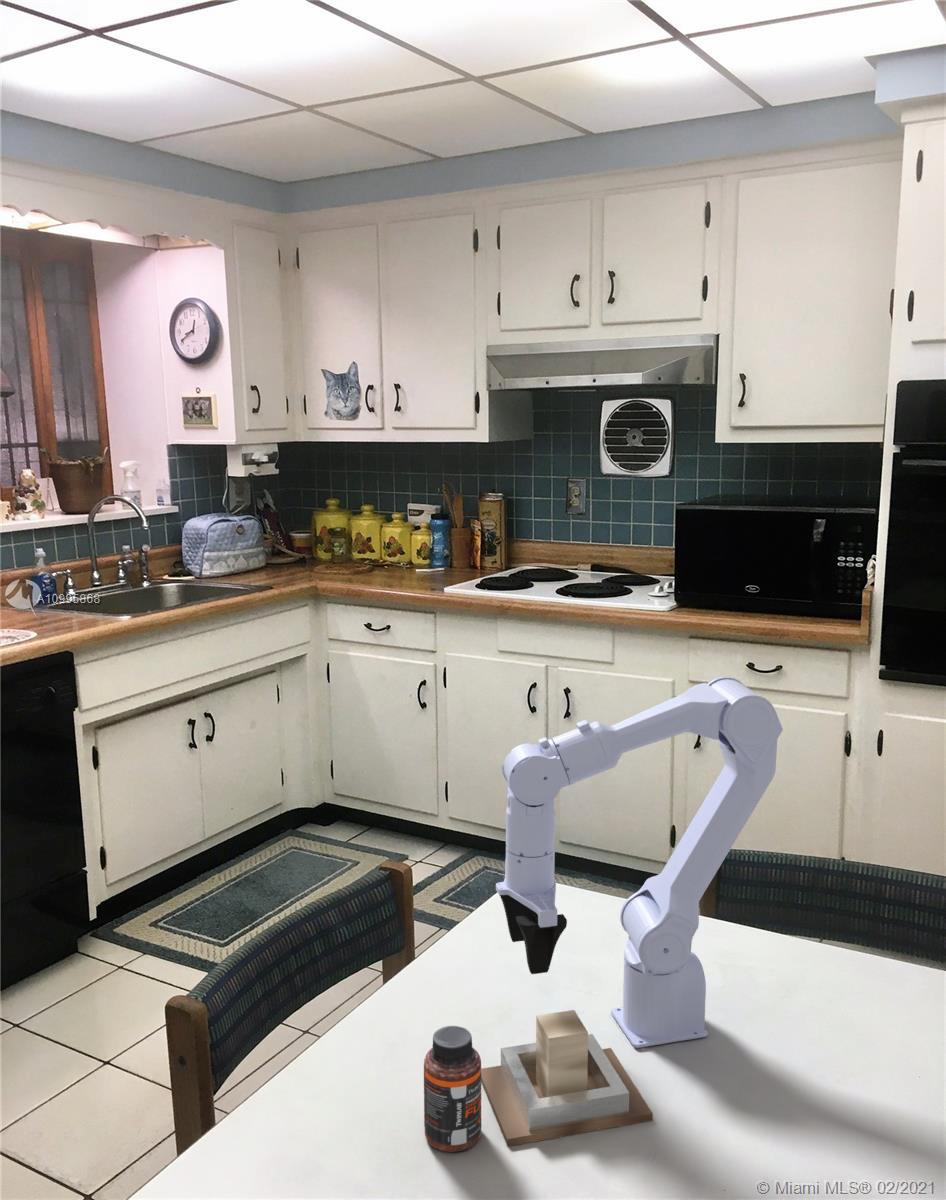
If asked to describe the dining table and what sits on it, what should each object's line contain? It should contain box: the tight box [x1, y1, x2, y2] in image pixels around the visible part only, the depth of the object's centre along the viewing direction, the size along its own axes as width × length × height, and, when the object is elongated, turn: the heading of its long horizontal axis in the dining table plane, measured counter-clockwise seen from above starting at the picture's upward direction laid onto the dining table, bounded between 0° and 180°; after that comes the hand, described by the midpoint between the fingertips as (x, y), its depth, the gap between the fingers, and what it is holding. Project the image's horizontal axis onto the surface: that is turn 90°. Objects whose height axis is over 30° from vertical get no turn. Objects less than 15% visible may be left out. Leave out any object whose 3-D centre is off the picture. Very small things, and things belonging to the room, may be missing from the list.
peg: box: [535, 1009, 589, 1098], centre depth 113 cm, size 4×4×8 cm
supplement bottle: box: [423, 1025, 482, 1153], centre depth 106 cm, size 6×6×11 cm
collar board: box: [481, 1033, 654, 1147], centre depth 113 cm, size 16×12×3 cm
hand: (529, 955), depth 123 cm, fingers open, 7 cm apart
